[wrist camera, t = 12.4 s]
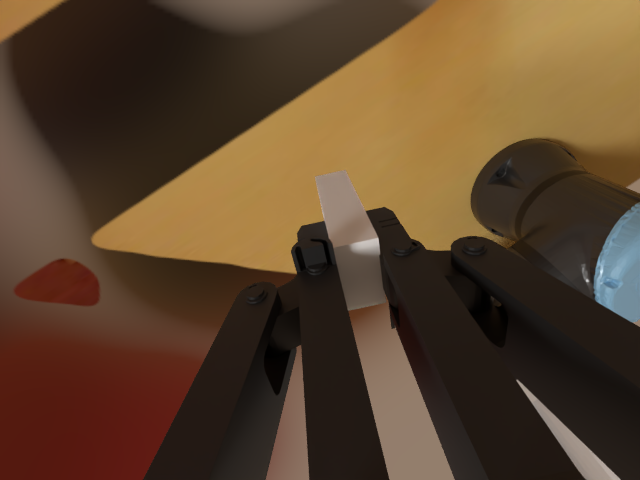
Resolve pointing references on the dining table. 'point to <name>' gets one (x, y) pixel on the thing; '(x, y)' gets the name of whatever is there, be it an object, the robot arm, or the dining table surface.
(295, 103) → the dining table surface
